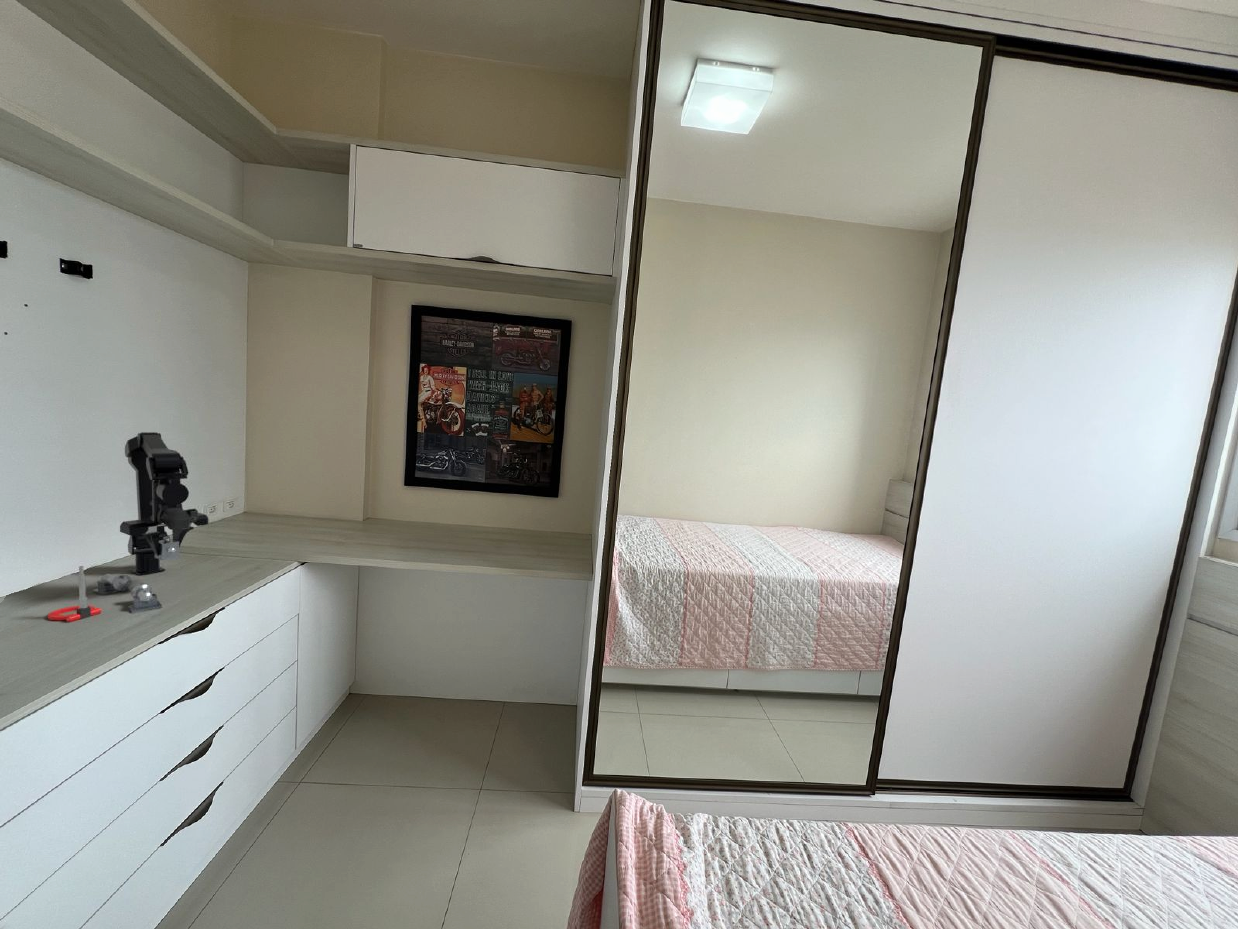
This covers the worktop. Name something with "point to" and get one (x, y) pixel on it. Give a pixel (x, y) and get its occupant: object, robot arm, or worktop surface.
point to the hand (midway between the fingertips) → (166, 553)
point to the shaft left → (112, 584)
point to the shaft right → (143, 599)
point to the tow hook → (81, 610)
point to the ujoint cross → (168, 549)
